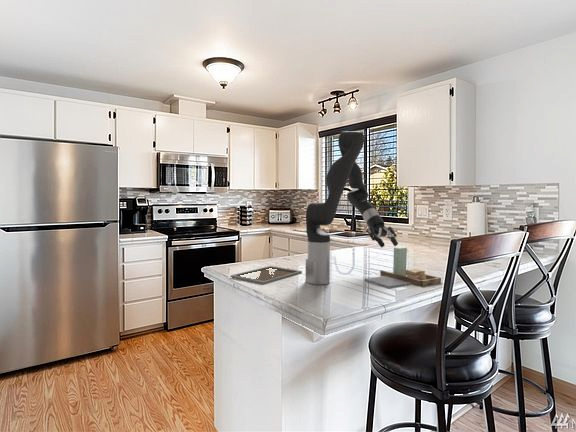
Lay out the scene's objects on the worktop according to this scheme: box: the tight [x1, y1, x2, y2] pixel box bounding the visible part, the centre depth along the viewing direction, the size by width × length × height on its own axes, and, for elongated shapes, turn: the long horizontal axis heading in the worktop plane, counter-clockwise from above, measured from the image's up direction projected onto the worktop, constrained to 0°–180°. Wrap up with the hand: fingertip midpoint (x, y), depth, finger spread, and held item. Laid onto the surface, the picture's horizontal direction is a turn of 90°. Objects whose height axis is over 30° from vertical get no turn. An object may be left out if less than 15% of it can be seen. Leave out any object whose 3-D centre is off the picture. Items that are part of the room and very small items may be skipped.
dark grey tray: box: [230, 265, 303, 285], centre depth 161 cm, size 19×2×30 cm
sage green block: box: [392, 246, 408, 277], centre depth 160 cm, size 5×3×13 cm, turn 120°
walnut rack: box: [379, 269, 442, 287], centre depth 156 cm, size 12×23×2 cm, turn 30°
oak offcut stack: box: [406, 268, 427, 280], centre depth 153 cm, size 7×5×4 cm
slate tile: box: [364, 275, 411, 289], centre depth 149 cm, size 12×14×1 cm
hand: (389, 245), depth 165 cm, fingers open, 8 cm apart
